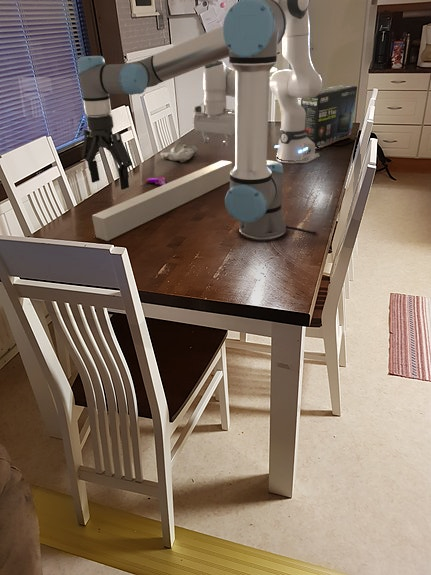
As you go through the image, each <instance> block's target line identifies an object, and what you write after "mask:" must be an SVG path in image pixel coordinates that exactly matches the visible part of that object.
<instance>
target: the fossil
mask: <svg viewBox="0 0 431 575" xmlns="http://www.w3.org/2000/svg"><path fill="white" fill-rule="evenodd" d="M198 153H199V150H198V148H197V146H195V145H188V146H187V145H186V143H184V142H183V143H181V142H176V143H175V145H174V146H173V147H172V148H171V149H170V150H168V149H165V150H162V151H161V152H160V156H161V158H162V159H163V160H169V161H174V162H177V161H179V162H180V163H185V162H187V161H188V160H190V159H191V158H192V157H193V156H194V155H197V154H198Z"/></svg>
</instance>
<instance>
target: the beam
mask: <svg viewBox="0 0 431 575" xmlns="http://www.w3.org/2000/svg"><path fill="white" fill-rule="evenodd" d="M232 169H233V162H232V161H228V160H223V159H222V160H219V161H217V162H214V163H211V164H210V165H208V166H204V167H202V168H200V169H198V170H195V171H193V172H190V173H188V174H186V175H184V176H181V177H179V178H176V179H175V180H174V179H173V180H172V181H169V182H167V183H166V184H165V185H162V186H160V185H159V186H158V187H156V188H152V189H151V190H148V191H146V192H144V193H141V194H138V195H136V196H135V197H132V198H130V199H127V200H125V201H122V202H120V203H118V204H115V205H113V206H110V207H109V208H106V209H103V210H101V211H99V212H96V213H94V214H92V215H91V218H92V223H93V228H94V234H95V238H97V239H100V240H104V241H106V242H109V241H110V240H113V239H115V238H117V237H119V236H121V235H123V234H125V233H127V232H129V231H131V230H133V229H135V228H137V227H139V226H141V225H144V224H146V223H148V222H150V221H151V220H154V219H155V218H157V217H160V216H162V215H164V214H166V213H168V212H170V211H172V210H174V209H176V208H178V207H181V206H183V205H184V204H186V203H188V202H190V201H193V200H194V199H197V198H199V197H201V196H203V195H205V194H207V193H209V192H211V191H213V190H215V189H217V188H219V187H222V186H224V185H225V184H227V183H230V171H231V170H232Z"/></svg>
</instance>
